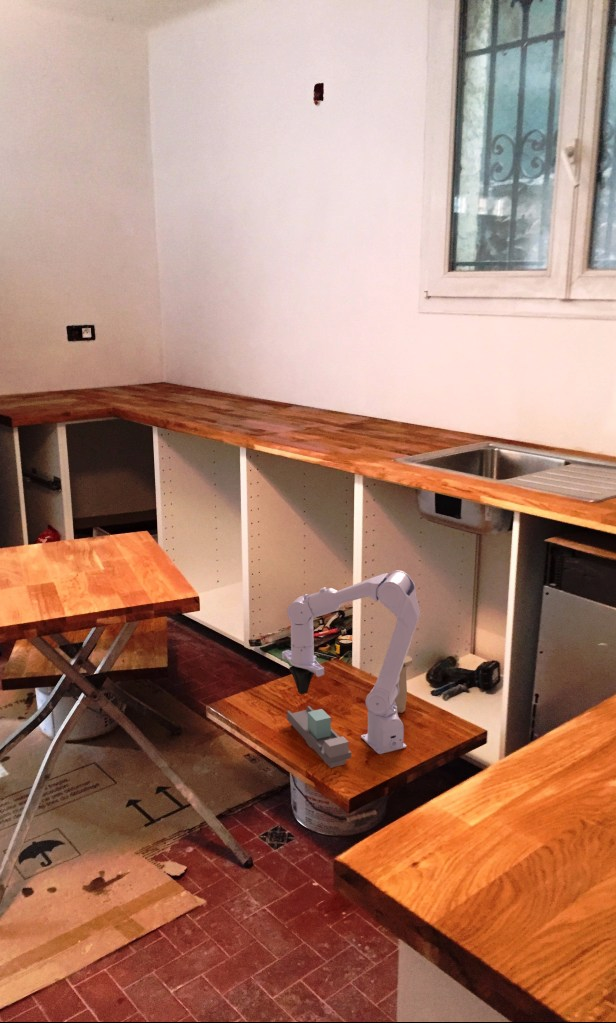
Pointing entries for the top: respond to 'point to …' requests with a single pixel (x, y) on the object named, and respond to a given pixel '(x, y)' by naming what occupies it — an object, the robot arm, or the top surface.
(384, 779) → the top surface
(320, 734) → the rider
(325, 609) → the robot arm
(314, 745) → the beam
